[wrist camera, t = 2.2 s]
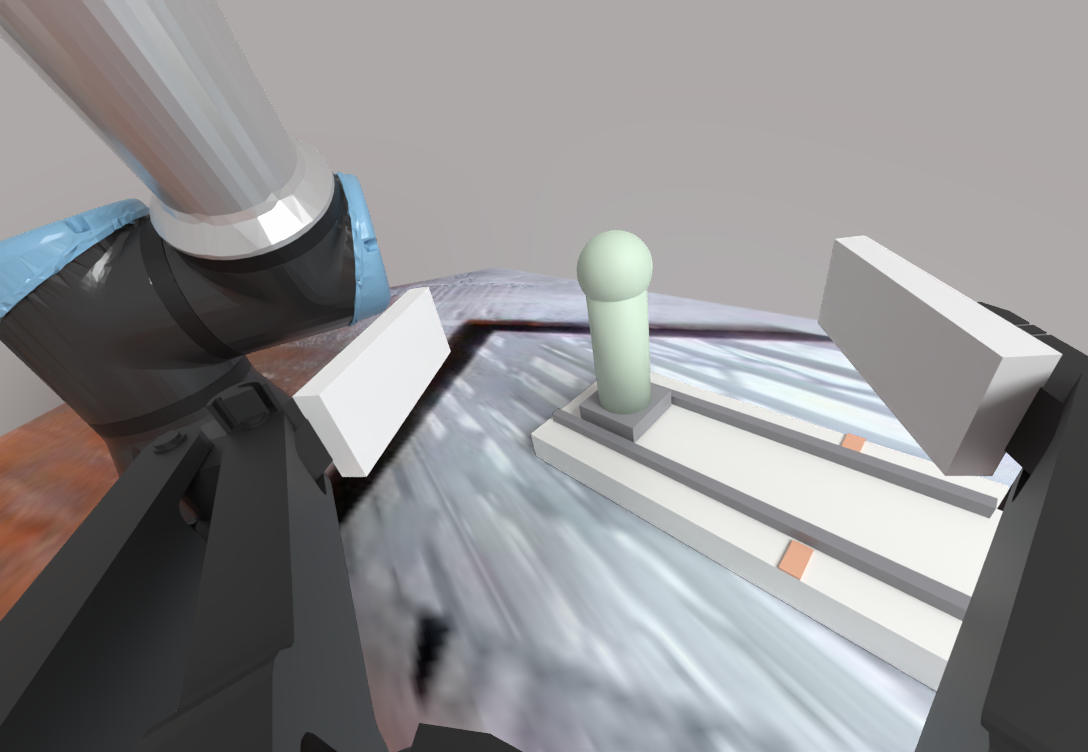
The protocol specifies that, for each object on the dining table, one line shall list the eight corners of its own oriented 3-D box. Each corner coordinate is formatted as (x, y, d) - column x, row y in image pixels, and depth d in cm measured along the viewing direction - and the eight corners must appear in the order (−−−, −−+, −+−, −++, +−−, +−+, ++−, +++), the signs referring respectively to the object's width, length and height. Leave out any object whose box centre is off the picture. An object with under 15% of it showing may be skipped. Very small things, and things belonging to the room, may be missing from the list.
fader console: (536, 456, 35) (528, 426, 33) (620, 383, 41) (618, 355, 39) (958, 704, 18) (990, 670, 16) (989, 515, 24) (1014, 476, 22)
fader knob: (581, 419, 33) (552, 242, 25) (619, 386, 36) (604, 217, 28) (633, 443, 30) (620, 249, 22) (671, 405, 33) (670, 220, 25)
